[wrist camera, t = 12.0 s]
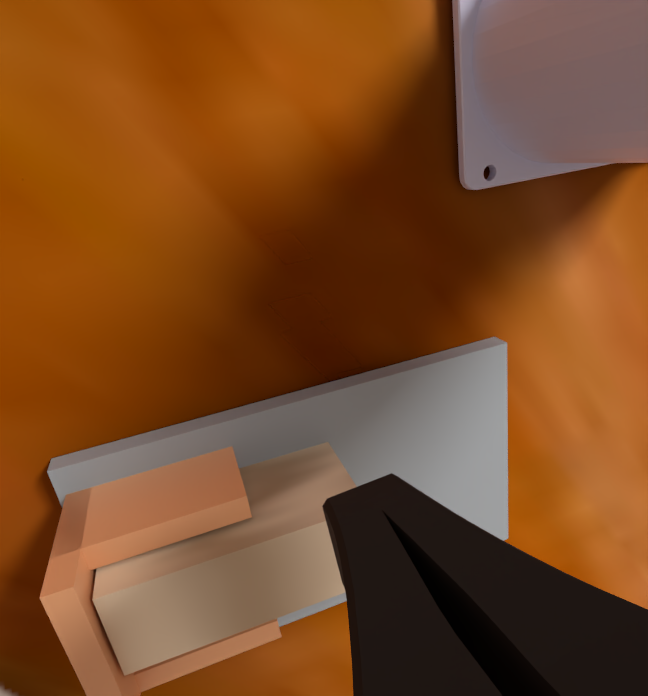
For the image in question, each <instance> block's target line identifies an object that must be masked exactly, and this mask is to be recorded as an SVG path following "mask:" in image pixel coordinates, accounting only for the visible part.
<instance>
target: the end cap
mask: <svg viewBox="0 0 648 696" xmlns="http://www.w3.org/2000/svg"><path fill="white" fill-rule="evenodd" d="M251 517H252V515H251V511H250V507H249V503H248V499H247V495H246V492H245V488H244V485H243V481H242V478H241V474H240V471H239V468H238V464H237V461H236V457H235V454H234V450H233V447H232V446H231V447H227V448H224V449H221V450H217V451H214V452H210V453H207V454H203V455H200V456H197V457H193V458H190V459H186V460H183V461H180V462H176V463H173V464H169V465H166V466H162V467H159V468H156V469H152V470H149V471H145V472H142V473H139V474H135V475H132V476H128V477H125V478H121V479H118V480H115V481H111V482H108V483H104V484H101V485H98V486H94V487H91V488H87V489H84V490H80V491H77V492H74V493H70V494H67V495H66V496H65V500H64V504H63V508H62V512H61V516H60V520H59V524H58V527H57V531H56V535H55V539H54V543H53V547H52V551H51V555H50V559H49V563H48V566H47V570H46V574H45V578H44V582H43V586H42V590H41V594H40V600H41V602H42V604H43V606H44V608H45V611H46V613H47V615H48V617H49V619H50V621H51V623H52V625H53V627H54V629H55V631H56V633H57V635H58V637H59V639H60V642H61V644H62V646H63V648H64V650H65V652H66V654H67V656H68V658H69V660H70V662H71V664H72V666H73V668H74V670H75V672H76V675H77V677H78V679H79V681H80V683H81V685H82V687H83V689H84V691H85V693H86V695H87V696H141V692H143V691H145V690H148V689H150V688H153V687H155V686H158V685H161V684H163V683H166V682H168V681H171V680H173V679H176V678H178V677H181V676H184V675H186V674H189V673H191V672H194V671H196V670H199V669H201V668H204V667H207V666H209V665H212V664H214V663H217V662H219V661H222V660H224V659H227V658H230V657H232V656H235V655H237V654H240V653H242V652H245V651H247V650H250V649H252V648H255V647H258V646H260V645H263V644H265V643H268V642H270V641H273V640H275V639H278V638H281V637H282V636H281V632H280V628H279V624H278V620H277V618H276V619H274V620H271V621H268V622H266V623H263V624H260V625H258V626H255V627H252V628H250V629H247V630H245V631H242V632H239V633H237V634H234V635H231V636H229V637H226V638H223V639H221V640H218V641H215V642H213V643H210V644H207V645H205V646H202V647H199V648H197V649H194V650H192V651H189V652H186V653H184V654H181V655H178V656H176V657H173V658H170V659H168V660H165V661H162V662H160V663H157V664H154V665H152V666H149V667H146V668H144V669H141V670H138V671H136V672H133V673H131V674H128V675H125V676H124V674H123V671H122V669H121V666H120V664H119V662H118V659H117V657H116V655H115V652H114V650H113V648H112V645H111V643H110V640H109V638H108V636H107V633H106V631H105V629H104V626H103V624H102V622H101V619H100V617H99V614H98V612H97V610H96V607H95V605H94V603H93V600H92V599H93V591H94V584H95V576H96V569H97V568H99V567H102V566H105V565H108V564H111V563H114V562H117V561H120V560H123V559H127V558H130V557H133V556H136V555H139V554H142V553H145V552H148V551H151V550H154V549H157V548H160V547H163V546H166V545H169V544H172V543H175V542H178V541H181V540H184V539H187V538H190V537H193V536H196V535H199V534H202V533H206V532H209V531H212V530H215V529H218V528H221V527H224V526H227V525H230V524H233V523H236V522H239V521H242V520H245V519H248V518H251Z"/></svg>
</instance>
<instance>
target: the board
mask: <svg viewBox="0 0 648 696" xmlns="http://www.w3.org/2000/svg"><path fill="white" fill-rule="evenodd" d="M326 442H328V443H329V444H330V446H331V447H332V449H333V450H334V452H335V454H336V455H337V457H338V458H339V460H340V461H341V463H342V464H343V466H344V468H345V469H346V471H347V472H348V474H349V475H350V477H351V478H352V480H353V482H354V483H355V485H356V486H357V487H358V486H360V485H363V484H365V483H368V482H370V481H373V480H376V479H378V478H381V477H383V476H386V475H388V474H391V473H392V474H394V475H396V476H398V477H400V478H401V479H403V480H404V481H406V482H407V483H409V484H410V485H412V486H413V487H415V488H416V489H418V490H420V491H421V492H423V493H424V494H426V495H427V496H429V497H430V498H432V499H434V500H435V501H437V502H438V503H440V504H442V505H443V506H445V507H446V508H448V509H450V510H451V511H453V512H454V513H456V514H458V515H459V516H461V517H463V518H464V519H466V520H468V521H469V522H471V523H473V524H475V525H476V526H478V527H480V528H482V529H483V530H485V531H487V532H489V533H490V534H492V535H494V536H496V537H497V538H499V539H501V540H506V539H508V426H507V343H506V342H504V341H502V340H500V339H498V338H496V337H492V338H488V339H484V340H481V341H477V342H474V343H470V344H466V345H463V346H459V347H455V348H452V349H448V350H444V351H441V352H437V353H434V354H430V355H426V356H423V357H419V358H415V359H412V360H408V361H404V362H401V363H397V364H394V365H390V366H386V367H383V368H379V369H375V370H372V371H368V372H365V373H361V374H357V375H354V376H350V377H346V378H343V379H339V380H335V381H332V382H328V383H325V384H321V385H317V386H314V387H310V388H306V389H303V390H299V391H295V392H292V393H288V394H285V395H281V396H277V397H274V398H270V399H266V400H263V401H259V402H256V403H252V404H248V405H245V406H241V407H237V408H234V409H230V410H226V411H223V412H219V413H216V414H212V415H208V416H205V417H201V418H197V419H194V420H190V421H186V422H183V423H179V424H176V425H172V426H168V427H165V428H161V429H157V430H154V431H150V432H147V433H143V434H139V435H136V436H132V437H128V438H125V439H121V440H117V441H114V442H110V443H107V444H103V445H99V446H96V447H92V448H88V449H85V450H81V451H77V452H74V453H70V454H67V455H63V456H59V457H56V458H52V459H51V461H50V464H49V467H48V470H47V473H48V475H49V478H50V480H51V483H52V485H53V487H54V490H55V492H56V494H57V497H58V499H59V501H60V504H61V506H62V508H63V504H64V500H65V496H66V495H67V494H70V493H74V492H77V491H80V490H84V489H87V488H91V487H94V486H98V485H101V484H104V483H108V482H111V481H115V480H118V479H121V478H125V477H128V476H132V475H135V474H139V473H142V472H145V471H149V470H152V469H156V468H159V467H162V466H166V465H169V464H173V463H176V462H180V461H183V460H186V459H190V458H193V457H197V456H200V455H203V454H207V453H210V452H214V451H217V450H221V449H224V448H227V447H231V446H232V447H233V450H234V454H235V457H236V461H237V464H238V468H242V467H246V466H249V465H252V464H256V463H259V462H262V461H266V460H269V459H272V458H276V457H279V456H282V455H286V454H289V453H292V452H296V451H299V450H302V449H306V448H309V447H312V446H316V445H319V444H322V443H326ZM345 601H347V599H346V592H345V593H343V594H340V595H337V596H335V597H332V598H329V599H327V600H324V601H321V602H319V603H316V604H313V605H311V606H308V607H305V608H303V609H300V610H298V611H295V612H292V613H290V614H287V615H284V616H282V617H279V618H277V620H278V624H279V627H280V626H283V625H285V624H288V623H291V622H293V621H296V620H298V619H301V618H304V617H306V616H309V615H311V614H314V613H317V612H319V611H322V610H324V609H327V608H330V607H332V606H335V605H337V604H340V603H342V602H345Z"/></svg>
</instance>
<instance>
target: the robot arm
mask: <svg viewBox="0 0 648 696" xmlns="http://www.w3.org/2000/svg"><path fill="white" fill-rule="evenodd" d="M452 5H453V30H454V56H455V81H456V106H457V132H458V157H459V178H460V183H461V184H462V186H463V187H464V188H466V189H468V190H480V189H485V188H490V187H495V186H500V185H506V184H511V183H516V182H521V181H526V180H531V179H536V178H541V177H547V176H552V175H557V174H562V173H567V172H572V171H577V170H583V169H588V168H593V167H598V166H603V165H608V164H613V163H648V0H452ZM486 166H488V167H489V170H490V173H489V176H488V178H487V179H485V178H484V175H483V173H484V169H485V168H486ZM322 507H323V511H324V515H325V519H326V523H327V526H328V530H329V534H330V538H331V542H332V545H333V549H334V553H335V557H336V561H337V565H338V568H339V572H340V576H341V580H342V583H343V586H344V588H345V592H346V599H347V607H348V618H349V630H350V642H351V655H352V670H353V693H354V696H648V609H645V608H643V607H640V606H638V605H636V604H633V603H631V602H629V601H626V600H624V599H622V598H619V597H617V596H615V595H612V594H610V593H608V592H605V591H603V590H601V589H598V588H596V587H594V586H592V585H590V584H588V583H585V582H583V581H581V580H579V579H577V578H575V577H573V576H571V575H569V574H566V573H564V572H562V571H560V570H558V569H556V568H554V567H552V566H550V565H548V564H546V563H544V562H542V561H540V560H539V559H537V558H535V557H533V556H531V555H529V554H527V553H525V552H523V551H521V550H519V549H517V548H516V547H514V546H512V545H510V544H508V543H506V542H505V541H503V540H501V539H499V538H497V537H496V536H494V535H492V534H490V533H489V532H487V531H485V530H483V529H482V528H480V527H478V526H476V525H475V524H473V523H471V522H469V521H468V520H466V519H464V518H463V517H461V516H459V515H458V514H456V513H454V512H453V511H451V510H450V509H448V508H446V507H445V506H443V505H442V504H440V503H438V502H437V501H435V500H434V499H432V498H430V497H429V496H427V495H426V494H424V493H423V492H421V491H420V490H418V489H416V488H415V487H413V486H412V485H410V484H409V483H407V482H406V481H404V480H403V479H401V478H400V477H398V476H396V475H394V474H392V473H391V474H388V475H386V476H383V477H381V478H378V479H376V480H373V481H370V482H368V483H365V484H363V485H360V486H358V487H355V488H353V489H350V490H347V491H345V492H342V493H340V494H337V495H335V496H332V497H330V498H327V499H326V501H325V503H324V504H323V506H322Z"/></svg>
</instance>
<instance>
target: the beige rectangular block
mask: <svg viewBox="0 0 648 696" xmlns="http://www.w3.org/2000/svg"><path fill="white" fill-rule="evenodd" d="M239 471H240V474H241V478H242V481H243V485H244V488H245V492H246V495H247V499H248V503H249V507H250V511H251V515H252V517H251V518H248V519H245V520H242V521H239V522H236V523H233V524H230V525H227V526H224V527H221V528H218V529H215V530H212V531H209V532H206V533H202V534H199V535H196V536H193V537H190V538H187V539H184V540H181V541H178V542H175V543H172V544H169V545H166V546H163V547H160V548H157V549H154V550H151V551H148V552H145V553H142V554H139V555H136V556H133V557H130V558H127V559H123V560H120V561H117V562H114V563H111V564H108V565H105V566H102V567H99V568H97V569H96V576H95V584H94V591H93V599H92V600H93V603H94V605H95V607H96V610H97V612H98V614H99V617H100V619H101V622H102V624H103V626H104V629H105V631H106V633H107V636H108V638H109V640H110V643H111V645H112V648H113V650H114V652H115V655H116V657H117V659H118V662H119V664H120V666H121V669H122V671H123V674H124V676H125V675H128V674H131V673H133V672H136V671H138V670H141V669H144V668H146V667H149V666H152V665H154V664H157V663H160V662H162V661H165V660H168V659H170V658H173V657H176V656H178V655H181V654H184V653H186V652H189V651H192V650H194V649H197V648H199V647H202V646H205V645H207V644H210V643H213V642H215V641H218V640H221V639H223V638H226V637H229V636H231V635H234V634H237V633H239V632H242V631H245V630H247V629H250V628H252V627H255V626H258V625H260V624H263V623H266V622H268V621H271V620H274V619H276V618H279V617H282V616H284V615H287V614H290V613H292V612H295V611H298V610H300V609H303V608H305V607H308V606H311V605H313V604H316V603H319V602H321V601H324V600H327V599H329V598H332V597H335V596H337V595H340V594H343V593H345V588H344V586H343V583H342V580H341V576H340V572H339V568H338V565H337V561H336V557H335V553H334V549H333V545H332V542H331V538H330V534H329V530H328V526H327V523H326V519H325V515H324V511H323V507H322V506H323V504H324V503H325V501H326V499H327V498H330V497H332V496H335V495H337V494H340V493H342V492H345V491H347V490H350V489H353V488H355V487H357V486H356V485H355V483H354V482H353V480H352V478H351V477H350V475H349V474H348V472H347V471H346V469H345V468H344V466H343V464H342V463H341V461H340V460H339V458H338V457H337V455H336V454H335V452H334V450H333V449H332V447H331V446H330V444H329V443H328V442H326V443H322V444H319V445H316V446H312V447H309V448H306V449H302V450H299V451H296V452H292V453H289V454H286V455H282V456H279V457H276V458H272V459H269V460H266V461H262V462H259V463H256V464H252V465H249V466H246V467H242V468H239Z"/></svg>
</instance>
